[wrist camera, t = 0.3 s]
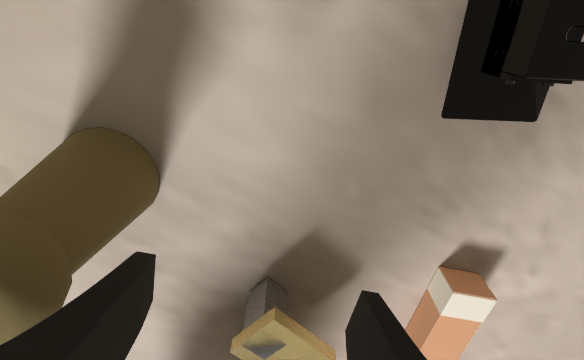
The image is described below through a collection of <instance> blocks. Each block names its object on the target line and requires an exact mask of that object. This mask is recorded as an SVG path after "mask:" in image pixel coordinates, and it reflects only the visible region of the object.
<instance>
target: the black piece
mask: <svg viewBox="0 0 584 360" xmlns="http://www.w3.org/2000/svg"><path fill="white" fill-rule="evenodd" d="M583 35H584V0H469V1H468V5H467V10H466V14H465V18H464V22H463V26H462V31H461V35H460V39H459V43H458V47H457V52H456V56H455V60H454V64H453V68H452V73H451V77H450V81H449V85H448V89H447V94H446V98H445V102H444V106H443V111H442V115H441V116H442V118H448V119H473V120H498V121H522V122H535V121H536V120H537V119H538V116H539V113H540V111H541V108H542V105H543V103H544V100H545V97H546V95H547V92H548V89H549V86H554V84H555V83H562V84H572V82H573V81H584V42H583V41H581V40H582V37H583Z"/></svg>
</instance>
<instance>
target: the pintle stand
mask: <svg viewBox="0 0 584 360" xmlns="http://www.w3.org/2000/svg"><path fill="white" fill-rule="evenodd" d="M230 353H231V354H233V355H235V356H236V357H238V358H239V359H241V360H336V355H335V350H334V349H333V348H331V347H330V346H329V345H327V344H326V343H325V342H323V341H322V340H320V339H319V338H318V337H316V336H315V335H313V334H312V333H311V332H309V331H308V330H307V329H305V328H304V327H302V326H301V325H300V324H298V323H297V322H296V321H294V320H293V319H291V318H290V317H289V316H287V292H286V291H285V290H284V289H282V288H281V287H280V286H278V285H277V284H276V283H274V282H273V281H272V280H270V279H269V278H268V277H267V278H266V279H265V280H263V281H262V282H261V283H260V284H258V285H257V286H256V287H255V288H253V289H252V290H251V291H250V292H249V293H248V300H247V306H246V312H245V319H244V325H243V331H242V332H241V333H239V334H238V335H237V336H235V337H234V338H233V339H232V343H231V349H230Z"/></svg>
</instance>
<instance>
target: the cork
mask: <svg viewBox="0 0 584 360" xmlns="http://www.w3.org/2000/svg"><path fill="white" fill-rule="evenodd" d="M158 192H159V174H158V171H157V168H156V164H155V162H154V161H153V159H152V158H151V156H150V155H149V153H148V152H147V150H146V149H144V148H143V147H142V146H141V145H140V144H139V143H138V142H136V141H135V140H134V139H133V138H131V137H129V136H127V135H125V134H123V133H121V132H119V131H116V130H111V129H106V128H101V127H99V128H89V129H83V130H81V131H79V132H77V133H75V134H73V135H71V136H70V137H69V138H67V139H66V140H65V141H64V142H63V143H62V144H61V145H59V146H58V147H57V148H56V149H55V150H54V151H53V152H51V153H50V154H49V155H48V156H47V157H46V158H45V159H43V160H42V161H41V162H40V163H39V164H38V165H37V166H35V167H34V168H33V169H32V170H31V171H30V172H29V173H27V174H26V175H25V176H24V177H23V178H22V179H21V180H19V181H18V182H17V183H16V184H15V185H14V186H12V187H11V188H10V189H9V190H8V191H7V192H6V193H4V194H3V195H2V196H1V197H0V345H1V344H3V343H5V342H7V341H9V340H11V339H12V338H14V337H16V336H18V335H19V334H21V333H23V332H24V331H26V330H28V329H29V328H31V327H33V326H34V325H36V324H38V323H39V322H41V321H43V320H44V319H46V318H47V317H49V316H50V315H52V314H53V313H55V312H56V311H58V310H59V309H61V308H62V306H63V304H64V301H65V299H66V296H67V294H68V291H69V289H70V286H71V284H72V276H71V275H72V274H73V273H75V272H76V271H77V270H78V269H79V268H80V267H81V266H83V265H84V264H85V263H86V262H87V261H88V260H89V259H90V258H92V257H93V256H94V255H95V254H96V253H97V252H98V251H99V250H101V249H102V248H103V247H104V246H105V245H106V244H107V243H109V242H110V241H111V240H112V239H113V238H114V237H115V236H116V235H118V234H119V233H120V232H121V231H122V230H123V229H124V228H126V227H127V226H128V225H129V224H130V223H131V222H132V221H133V220H135V219H136V218H137V217H138V216H139V215H140V214H141V213H143V212H144V211H145V210H146V209H147V208H148V207H149V206H150V205H151V204H152V203H153V202H154V200H155V198H156V196H157V194H158Z"/></svg>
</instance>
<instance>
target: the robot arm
mask: <svg viewBox="0 0 584 360" xmlns="http://www.w3.org/2000/svg"><path fill="white" fill-rule="evenodd" d="M155 258H156V255H154V254H149V253H143V252H136V253H134V254H133V255H131V256H130V257H129V258H128V259H126V260H125V261H124V262H123V263H122V264H120V265H119V266H118V267H117V268H115V269H114V270H113V271H112V272H110V273H109V274H108V275H106V276H105V277H104V278H103V279H101V280H100V281H99V282H97V283H96V284H95V285H93V286H92V287H91V288H89V289H88V290H87V291H85V292H84V293H83V294H81V295H80V296H78V297H77V298H75V299H74V300H73V301H71V302H70V303H68V304H67V305H65V306H64V307H62V308H61V309H59V310H58V311H56V312H55V313H53V314H52V315H50V316H49V317H47V318H46V319H44V320H43V321H41V322H39V323H38V324H36V325H34V326H33V327H31V328H29V329H28V330H26V331H24V332H23V333H21V334H19V335H18V336H16V337H14V338H12V339H11V340H9V341H7V342H5V343H3V344H1V345H0V360H125V359H126V357H127V355H128V353H129V351H130V349H131V347H132V345H133V344H134V342H135V340H136V338H137V336H138V334H139V332H140V330H141V328H142V326H143V323H144V321H145V319H146V316H147V314H148V311H149V308H150V306H151V303H152V301H153V290H154V274H155ZM345 332H346V350H347V360H427V359H426V357H425V356H424V355H423V354H422V352H421V351H420V350H419V348H418V347H417V346H416V344H415V343H414V342H413V340H412V339H411V338H410V336H409V335H408V334H407V332H406V331H405V330H404V328H403V327H402V326H401V324H400V323H399V321H398V320H397V318H396V317H395V316H394V314H393V313H392V311H391V310H390V309H389V307H388V306H387V304H386V303H385V302H384V300H383V299H382V297H381V296H380V295H379V293H375V292H369V291H363V290H362V291H361V294H360V296H359V299H358V301H357V304H356V306H355V309H354V311H353V313H352V316H351V318H350V321H349V323H348V326H347V328H346V330H345Z"/></svg>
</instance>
